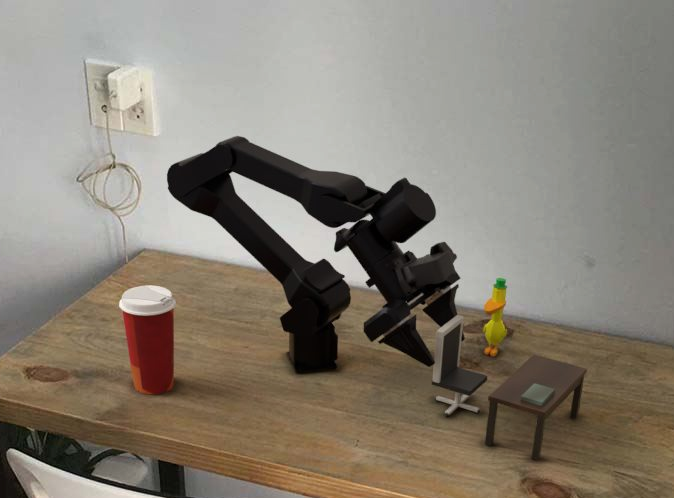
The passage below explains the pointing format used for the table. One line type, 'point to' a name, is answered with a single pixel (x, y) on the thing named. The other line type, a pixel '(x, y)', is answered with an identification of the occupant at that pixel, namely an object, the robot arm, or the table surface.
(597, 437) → the table surface
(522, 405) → the desk
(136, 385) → the paper cup
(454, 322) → the white black boxy frame
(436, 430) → the table surface
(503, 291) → the toy figure
